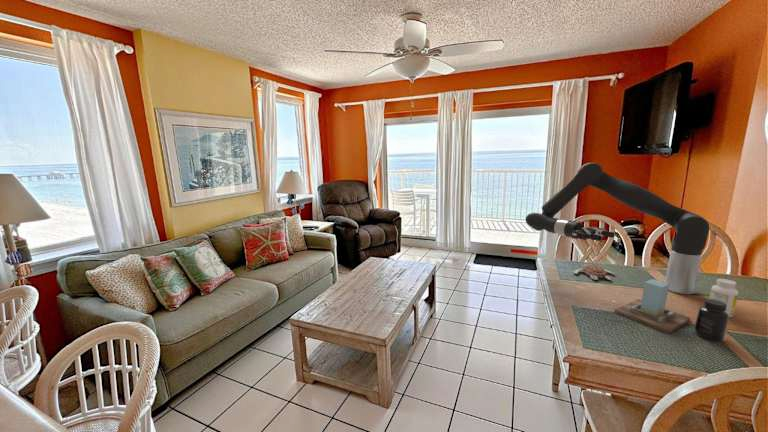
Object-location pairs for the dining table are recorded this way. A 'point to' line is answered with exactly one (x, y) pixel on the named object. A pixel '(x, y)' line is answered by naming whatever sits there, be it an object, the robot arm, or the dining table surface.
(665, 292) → the peg
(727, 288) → the supplement bottle
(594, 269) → the decorative turtle
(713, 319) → the supplement bottle
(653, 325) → the socket board
